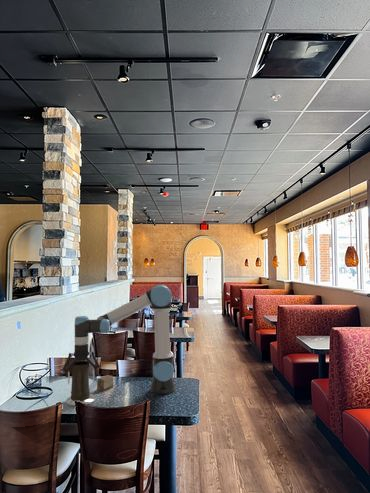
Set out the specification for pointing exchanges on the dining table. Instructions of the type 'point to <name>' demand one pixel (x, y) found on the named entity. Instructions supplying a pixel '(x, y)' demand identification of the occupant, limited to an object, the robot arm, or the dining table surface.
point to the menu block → (105, 383)
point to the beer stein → (80, 381)
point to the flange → (87, 401)
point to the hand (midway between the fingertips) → (81, 381)
